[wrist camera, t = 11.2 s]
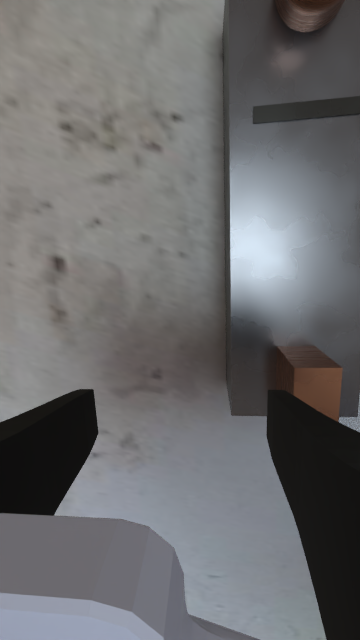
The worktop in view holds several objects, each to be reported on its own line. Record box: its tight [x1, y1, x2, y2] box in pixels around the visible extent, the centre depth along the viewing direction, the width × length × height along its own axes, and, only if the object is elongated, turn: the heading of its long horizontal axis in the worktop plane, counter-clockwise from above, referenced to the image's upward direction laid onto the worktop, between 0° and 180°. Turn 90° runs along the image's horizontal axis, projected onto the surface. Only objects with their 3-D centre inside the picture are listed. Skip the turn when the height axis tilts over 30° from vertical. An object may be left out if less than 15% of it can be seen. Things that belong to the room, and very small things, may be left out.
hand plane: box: [223, 0, 360, 422], centre depth 15 cm, size 7×22×8 cm, turn 3°
